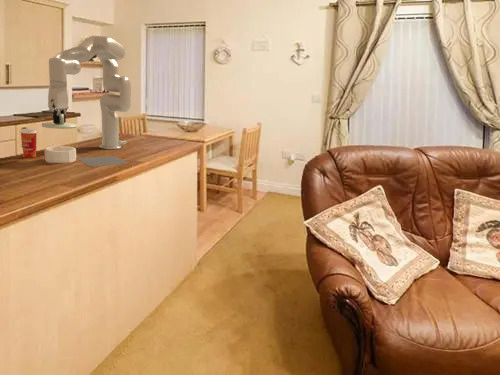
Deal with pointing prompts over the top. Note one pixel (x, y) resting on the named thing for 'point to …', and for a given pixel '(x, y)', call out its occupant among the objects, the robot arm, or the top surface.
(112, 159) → the mat
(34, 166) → the top surface
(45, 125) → the lid
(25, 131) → the paper cup
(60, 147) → the bowl
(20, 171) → the top surface
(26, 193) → the top surface
